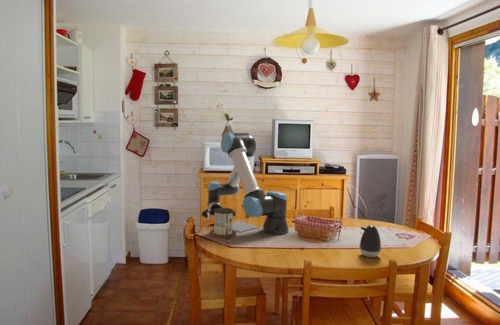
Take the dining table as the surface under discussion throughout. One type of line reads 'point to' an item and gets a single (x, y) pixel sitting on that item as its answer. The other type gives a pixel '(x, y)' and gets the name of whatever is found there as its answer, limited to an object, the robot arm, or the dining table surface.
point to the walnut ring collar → (223, 235)
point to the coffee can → (223, 221)
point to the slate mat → (243, 227)
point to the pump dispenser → (370, 242)
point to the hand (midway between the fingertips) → (220, 217)
